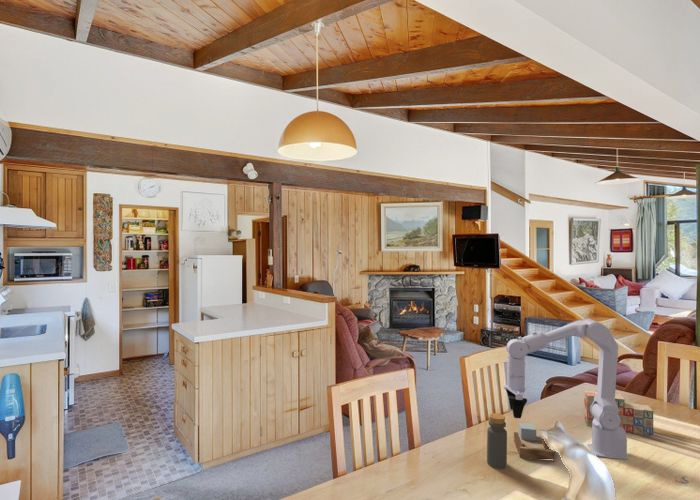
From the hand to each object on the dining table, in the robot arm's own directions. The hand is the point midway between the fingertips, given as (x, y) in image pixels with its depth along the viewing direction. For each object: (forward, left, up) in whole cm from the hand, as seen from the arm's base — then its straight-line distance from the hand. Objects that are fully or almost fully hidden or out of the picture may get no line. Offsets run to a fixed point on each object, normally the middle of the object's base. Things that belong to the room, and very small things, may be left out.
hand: (515, 413), depth 145 cm
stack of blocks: (-40, -23, -10) cm, 47 cm away
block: (-5, -6, -10) cm, 13 cm away
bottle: (+8, +17, -10) cm, 21 cm away
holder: (-5, +4, -10) cm, 12 cm away
